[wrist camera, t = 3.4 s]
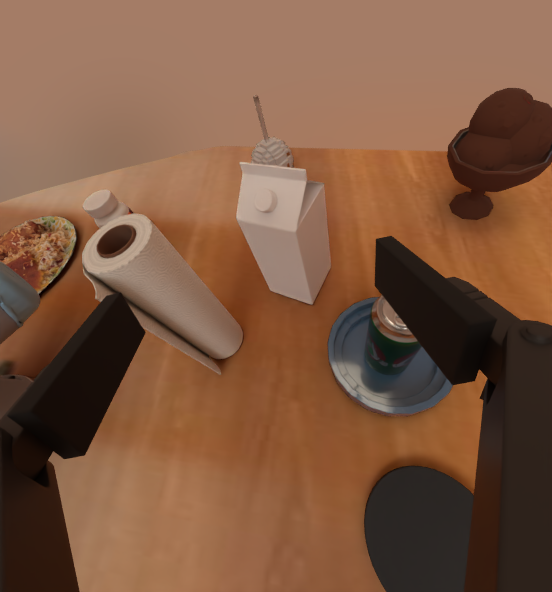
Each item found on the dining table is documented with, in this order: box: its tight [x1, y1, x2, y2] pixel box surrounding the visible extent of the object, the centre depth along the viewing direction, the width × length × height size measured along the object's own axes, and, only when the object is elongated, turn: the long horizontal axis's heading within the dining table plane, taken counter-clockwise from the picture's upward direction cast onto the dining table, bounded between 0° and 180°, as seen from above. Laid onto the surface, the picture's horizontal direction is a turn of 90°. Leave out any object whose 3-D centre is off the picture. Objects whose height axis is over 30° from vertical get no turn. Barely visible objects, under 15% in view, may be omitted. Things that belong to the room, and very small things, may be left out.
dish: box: [328, 297, 453, 416], centre depth 31 cm, size 13×13×3 cm
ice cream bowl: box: [447, 88, 552, 220], centre depth 34 cm, size 11×11×15 cm
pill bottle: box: [83, 189, 133, 228], centre depth 49 cm, size 6×6×11 cm
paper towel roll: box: [82, 213, 243, 375], centre depth 29 cm, size 7×6×21 cm
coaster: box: [364, 466, 474, 592], centre depth 23 cm, size 11×11×1 cm
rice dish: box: [0, 216, 77, 294], centre depth 57 cm, size 28×28×5 cm
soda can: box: [364, 295, 422, 375], centre depth 27 cm, size 5×5×12 cm
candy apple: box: [251, 95, 294, 168], centre depth 48 cm, size 8×8×15 cm
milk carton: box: [236, 162, 331, 305], centre depth 32 cm, size 7×7×19 cm
